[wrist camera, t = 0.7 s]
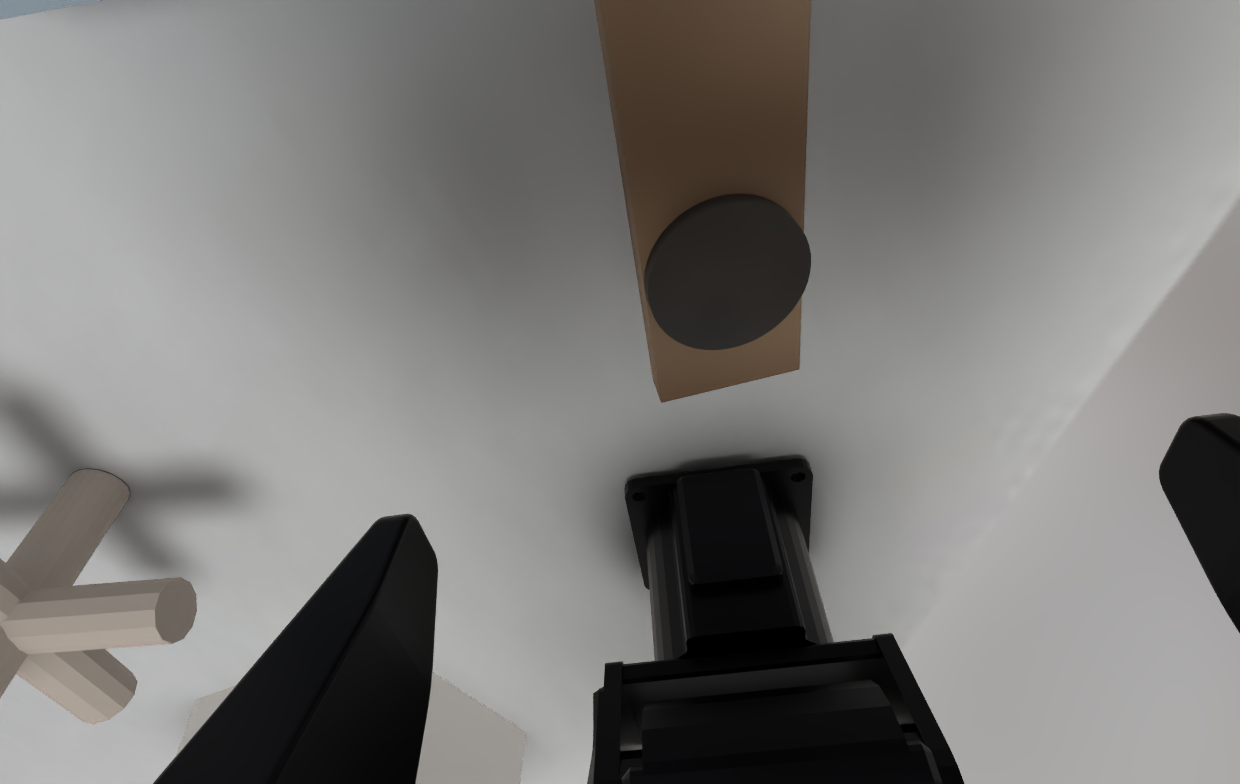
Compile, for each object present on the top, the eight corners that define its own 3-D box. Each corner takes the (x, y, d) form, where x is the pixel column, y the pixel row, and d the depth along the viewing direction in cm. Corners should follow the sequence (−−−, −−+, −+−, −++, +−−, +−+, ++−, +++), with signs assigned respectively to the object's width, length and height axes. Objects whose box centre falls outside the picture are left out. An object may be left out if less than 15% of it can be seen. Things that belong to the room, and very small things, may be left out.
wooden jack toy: (299, 560, 27) (188, 860, 19) (50, 580, 27) (-153, 882, 20) (167, 362, 20) (-80, 701, 13) (-160, 390, 21) (-586, 738, 13)
